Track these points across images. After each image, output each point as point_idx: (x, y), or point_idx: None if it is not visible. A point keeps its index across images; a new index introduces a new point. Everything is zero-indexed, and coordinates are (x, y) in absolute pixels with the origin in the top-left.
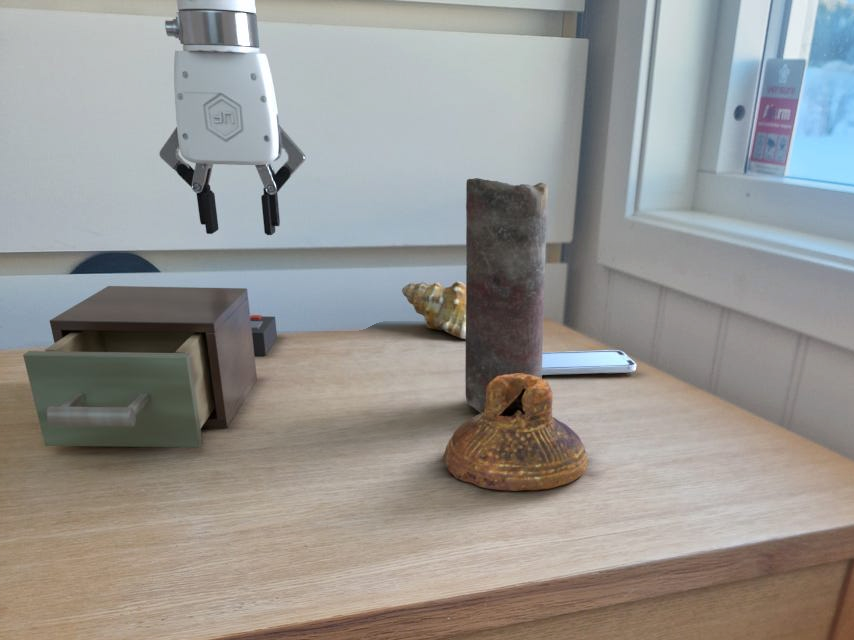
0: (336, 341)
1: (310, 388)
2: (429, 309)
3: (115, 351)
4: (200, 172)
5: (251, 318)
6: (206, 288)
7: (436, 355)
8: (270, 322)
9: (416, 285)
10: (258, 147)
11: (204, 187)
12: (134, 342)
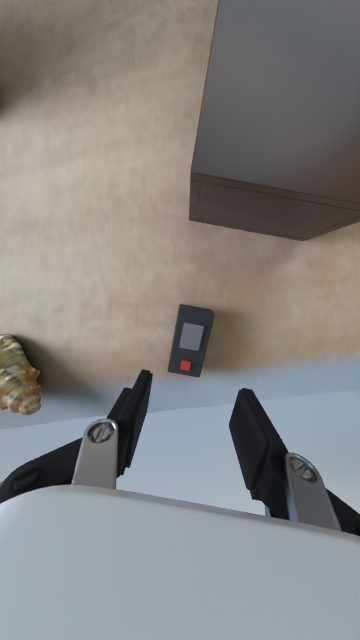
0: (119, 347)
1: (142, 185)
2: (21, 370)
3: None
4: (315, 514)
5: (189, 361)
6: (250, 175)
7: (34, 288)
8: (172, 349)
9: (18, 404)
10: (16, 603)
11: (280, 472)
12: None
